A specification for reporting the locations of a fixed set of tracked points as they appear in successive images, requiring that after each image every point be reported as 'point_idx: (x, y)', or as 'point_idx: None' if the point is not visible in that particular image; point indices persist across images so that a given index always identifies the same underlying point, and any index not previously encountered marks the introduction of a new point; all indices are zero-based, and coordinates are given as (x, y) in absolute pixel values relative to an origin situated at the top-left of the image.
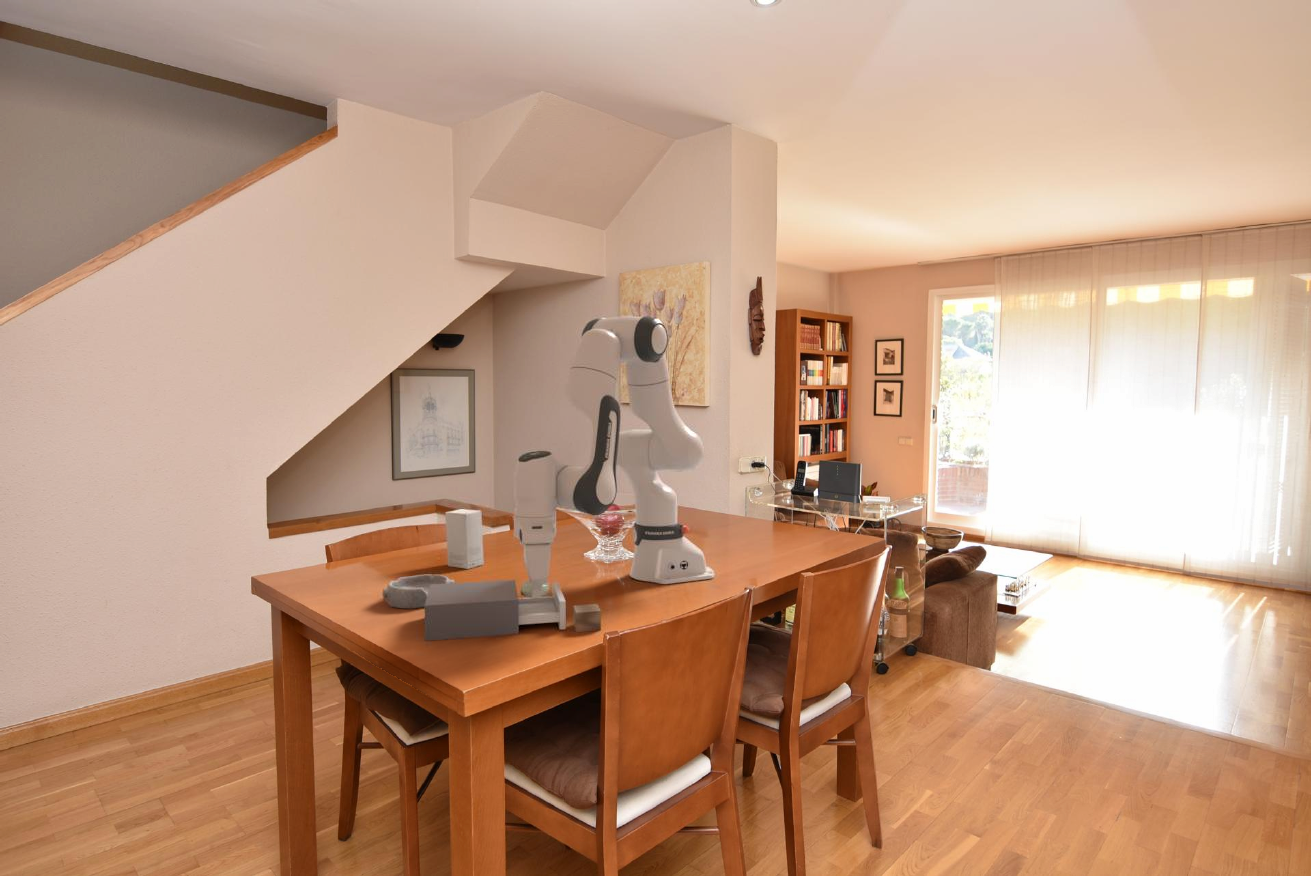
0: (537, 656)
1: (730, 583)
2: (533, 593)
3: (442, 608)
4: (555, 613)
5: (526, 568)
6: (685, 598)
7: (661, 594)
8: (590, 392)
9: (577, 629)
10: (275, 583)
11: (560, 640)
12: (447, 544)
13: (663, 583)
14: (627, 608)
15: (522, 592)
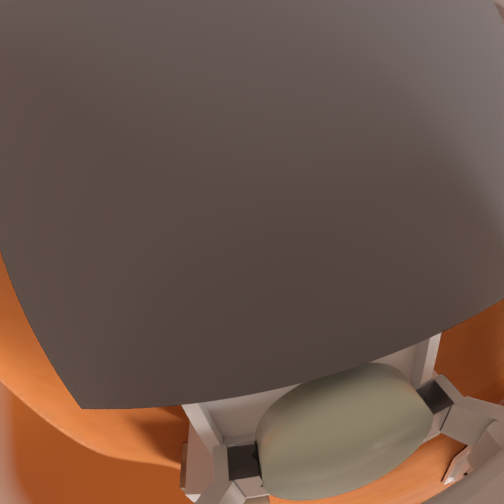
0: (4, 361)
1: (415, 498)
2: (213, 466)
3: None
4: (206, 445)
5: (441, 500)
6: (378, 498)
7: (412, 475)
8: None
9: (183, 449)
10: None
11: (109, 414)
12: None
13: (454, 458)
14: None
15: (300, 401)
